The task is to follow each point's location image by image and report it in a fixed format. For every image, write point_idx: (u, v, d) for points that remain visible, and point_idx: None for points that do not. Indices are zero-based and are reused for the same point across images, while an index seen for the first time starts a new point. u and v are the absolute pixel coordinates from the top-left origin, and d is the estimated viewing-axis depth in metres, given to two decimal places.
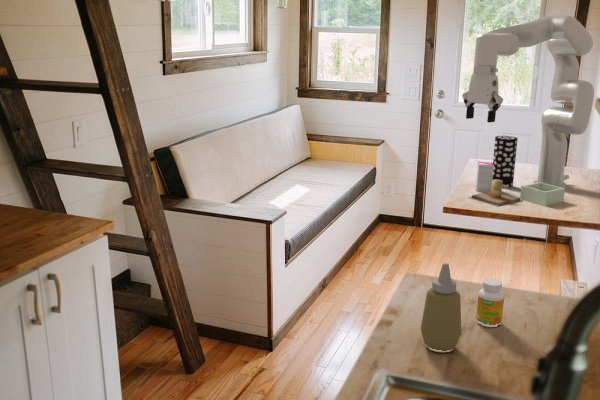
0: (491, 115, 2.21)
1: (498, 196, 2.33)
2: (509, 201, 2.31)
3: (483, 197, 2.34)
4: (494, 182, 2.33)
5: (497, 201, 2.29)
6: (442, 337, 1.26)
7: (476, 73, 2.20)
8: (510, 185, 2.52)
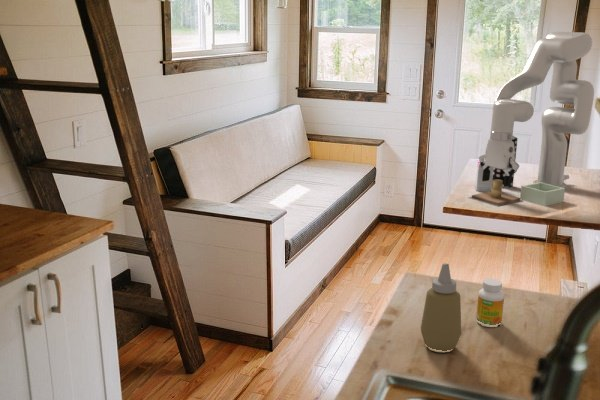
0: (507, 180, 2.28)
1: (498, 196, 2.33)
2: (509, 201, 2.31)
3: (483, 197, 2.34)
4: (494, 182, 2.33)
5: (497, 201, 2.29)
6: (442, 337, 1.26)
7: (493, 139, 2.27)
8: None
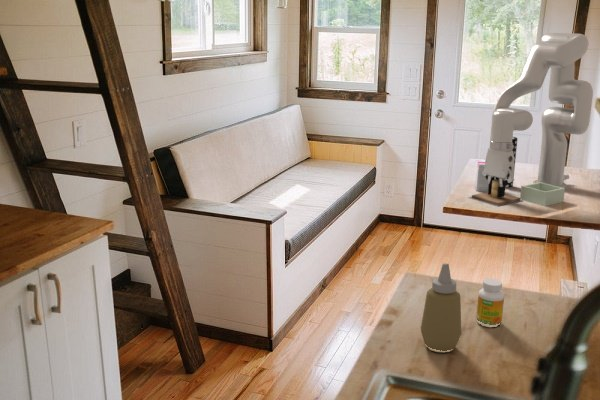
0: (501, 190, 2.32)
1: None
2: (509, 201, 2.31)
3: (483, 197, 2.34)
4: (494, 182, 2.33)
5: (497, 201, 2.29)
6: (442, 337, 1.26)
7: (492, 149, 2.28)
8: (510, 185, 2.52)
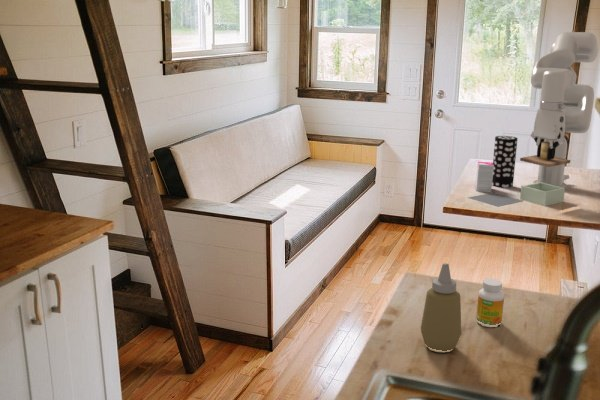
0: (551, 152, 2.27)
1: None
2: (559, 163, 2.26)
3: (532, 159, 2.29)
4: (544, 144, 2.28)
5: (547, 163, 2.24)
6: (442, 337, 1.26)
7: (543, 109, 2.24)
8: (510, 185, 2.52)
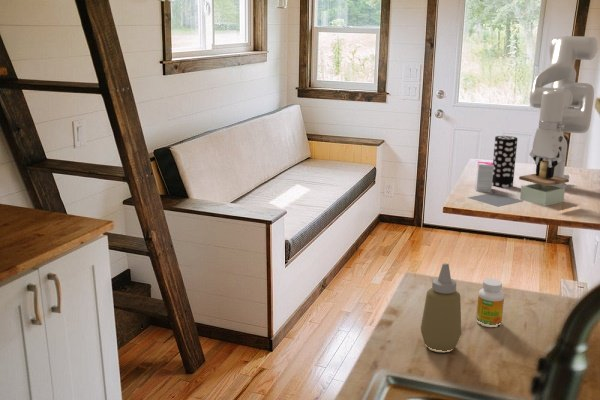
0: (550, 171, 2.28)
1: None
2: (558, 182, 2.27)
3: (531, 178, 2.31)
4: (543, 163, 2.29)
5: (546, 182, 2.26)
6: (442, 337, 1.26)
7: (542, 129, 2.25)
8: (510, 185, 2.52)
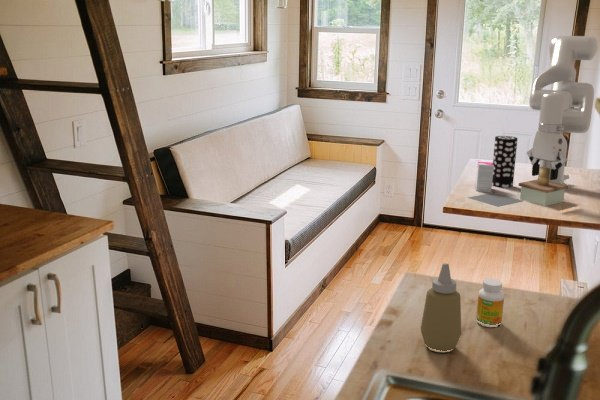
0: (554, 173, 2.27)
1: (546, 184, 2.31)
2: (557, 189, 2.28)
3: (530, 185, 2.32)
4: (542, 170, 2.30)
5: (546, 189, 2.26)
6: (442, 337, 1.26)
7: (542, 131, 2.26)
8: (510, 185, 2.52)
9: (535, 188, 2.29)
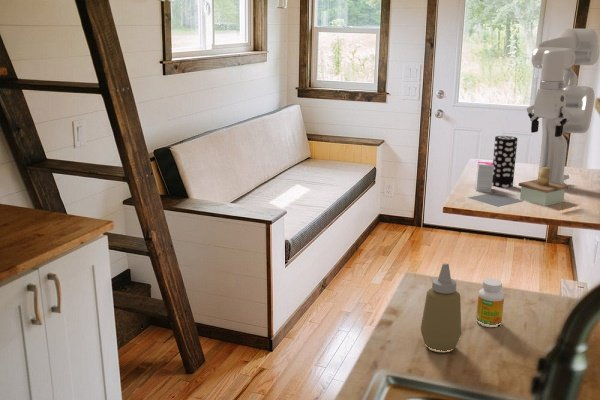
0: (559, 130, 2.24)
1: (546, 184, 2.31)
2: (557, 189, 2.28)
3: (530, 185, 2.32)
4: (542, 170, 2.30)
5: (546, 189, 2.26)
6: (442, 337, 1.26)
7: (543, 89, 2.23)
8: (510, 185, 2.52)
9: (535, 188, 2.29)
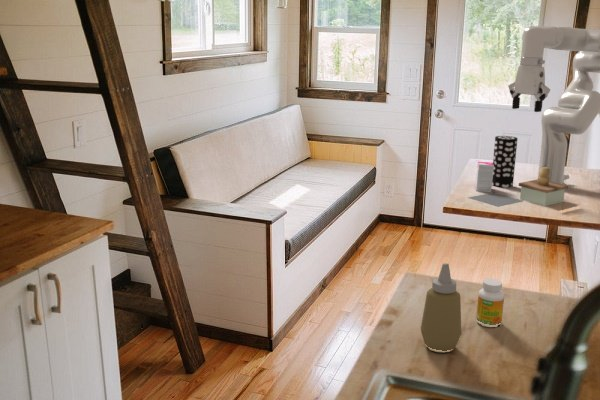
0: (538, 105, 2.31)
1: (546, 184, 2.31)
2: (557, 189, 2.28)
3: (530, 185, 2.32)
4: (542, 170, 2.30)
5: (546, 189, 2.26)
6: (442, 337, 1.26)
7: (523, 65, 2.30)
8: (510, 185, 2.52)
9: (535, 188, 2.29)
